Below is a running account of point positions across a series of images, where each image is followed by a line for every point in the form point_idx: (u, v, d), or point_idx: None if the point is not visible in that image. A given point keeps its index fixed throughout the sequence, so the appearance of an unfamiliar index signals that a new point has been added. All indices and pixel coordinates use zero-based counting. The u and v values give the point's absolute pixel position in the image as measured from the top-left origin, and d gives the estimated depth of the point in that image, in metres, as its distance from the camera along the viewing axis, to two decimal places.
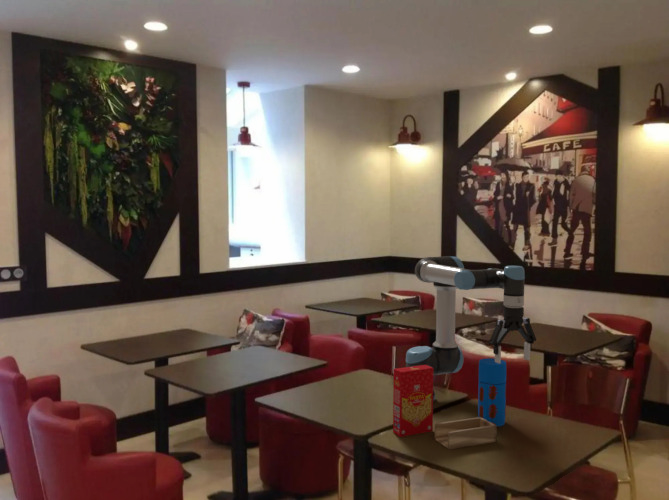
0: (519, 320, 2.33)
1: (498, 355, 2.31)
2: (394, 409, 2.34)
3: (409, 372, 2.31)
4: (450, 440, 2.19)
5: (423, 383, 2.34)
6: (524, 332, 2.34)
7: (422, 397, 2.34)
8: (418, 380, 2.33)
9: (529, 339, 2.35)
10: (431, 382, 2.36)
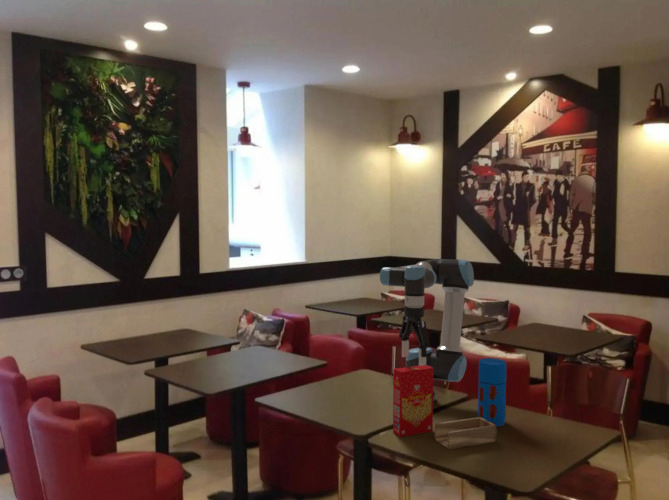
0: (414, 321, 2.31)
1: None
2: (394, 409, 2.34)
3: (409, 372, 2.31)
4: (450, 440, 2.19)
5: (423, 383, 2.34)
6: (416, 335, 2.29)
7: (422, 397, 2.34)
8: (418, 380, 2.33)
9: (420, 344, 2.27)
10: (431, 382, 2.36)
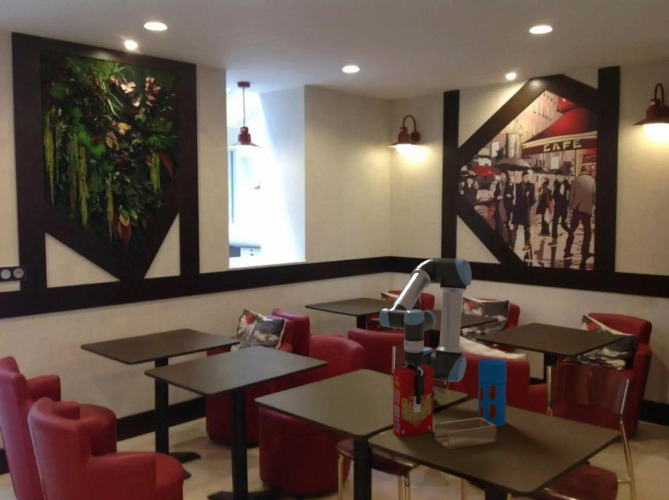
0: (413, 364, 2.32)
1: None
2: (394, 409, 2.34)
3: (409, 372, 2.31)
4: (450, 440, 2.19)
5: None
6: None
7: (422, 397, 2.34)
8: None
9: (415, 391, 2.32)
10: (431, 382, 2.36)
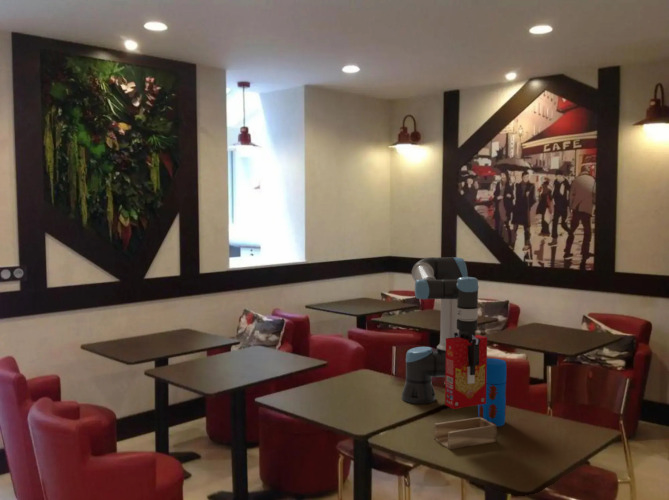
0: (467, 334, 2.22)
1: None
2: (446, 381, 2.24)
3: (463, 341, 2.21)
4: (450, 440, 2.19)
5: None
6: None
7: (476, 368, 2.24)
8: None
9: (469, 361, 2.22)
10: (485, 352, 2.26)
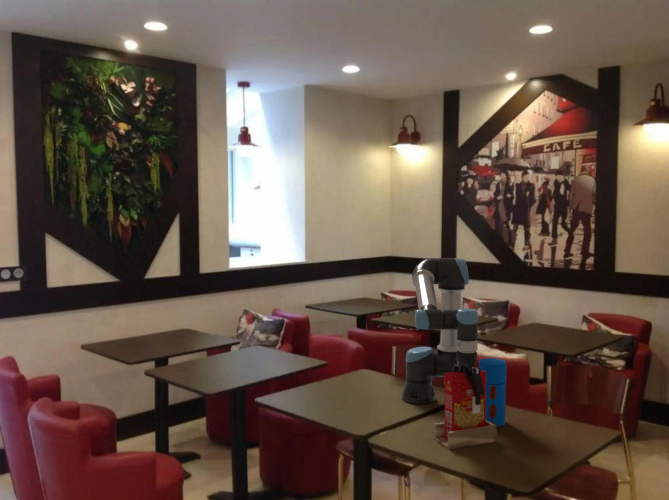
0: (467, 366, 2.23)
1: None
2: (446, 415, 2.26)
3: (461, 376, 2.23)
4: (450, 440, 2.19)
5: None
6: (470, 381, 2.22)
7: None
8: None
9: (473, 391, 2.20)
10: (484, 387, 2.27)
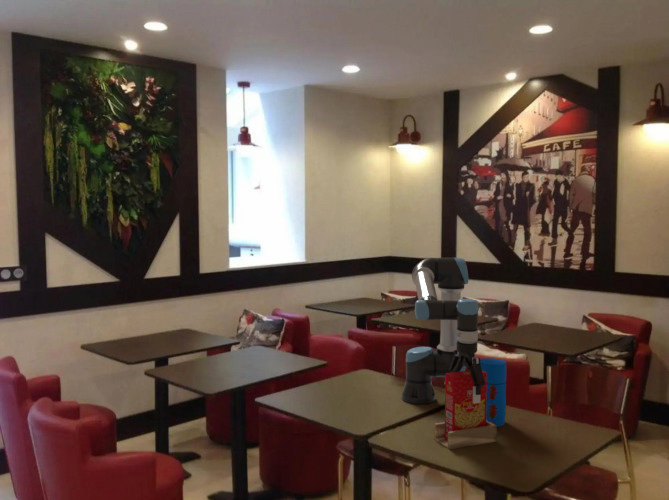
0: (467, 357, 2.23)
1: None
2: (446, 415, 2.26)
3: (462, 377, 2.22)
4: (450, 440, 2.19)
5: None
6: (470, 371, 2.21)
7: (475, 403, 2.25)
8: (471, 385, 2.24)
9: (474, 381, 2.19)
10: (484, 387, 2.27)
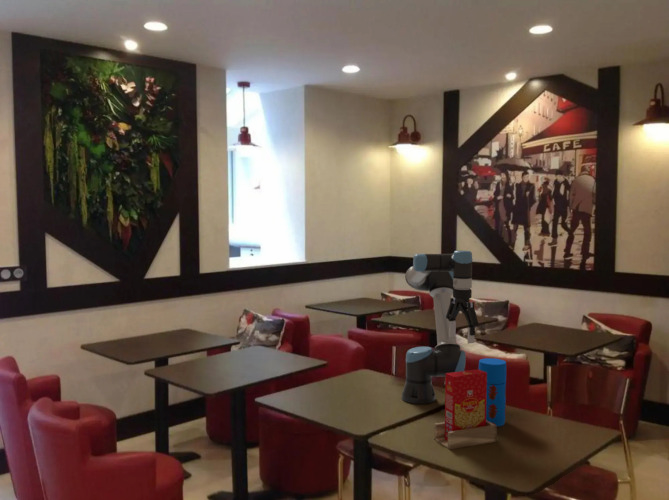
0: (462, 302, 2.47)
1: None
2: (446, 415, 2.26)
3: (462, 377, 2.22)
4: (450, 440, 2.19)
5: (477, 389, 2.25)
6: (465, 315, 2.45)
7: (475, 403, 2.25)
8: (471, 385, 2.24)
9: (468, 323, 2.43)
10: (484, 387, 2.27)
